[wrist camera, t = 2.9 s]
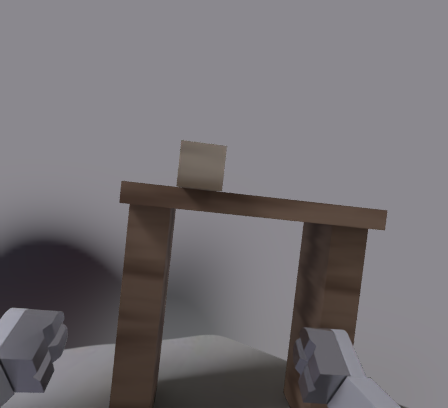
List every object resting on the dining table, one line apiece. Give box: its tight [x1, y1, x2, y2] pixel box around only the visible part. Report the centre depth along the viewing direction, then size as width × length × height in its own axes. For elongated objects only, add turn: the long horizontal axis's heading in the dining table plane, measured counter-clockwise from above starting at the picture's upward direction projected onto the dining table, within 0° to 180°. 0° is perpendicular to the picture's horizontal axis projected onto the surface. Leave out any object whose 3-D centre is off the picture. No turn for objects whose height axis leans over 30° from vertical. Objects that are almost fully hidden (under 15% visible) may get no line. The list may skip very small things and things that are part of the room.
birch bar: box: [177, 140, 227, 191], centre depth 29 cm, size 20×3×3 cm, turn 6°
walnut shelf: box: [109, 181, 387, 408], centre depth 33 cm, size 10×26×26 cm, turn 96°
